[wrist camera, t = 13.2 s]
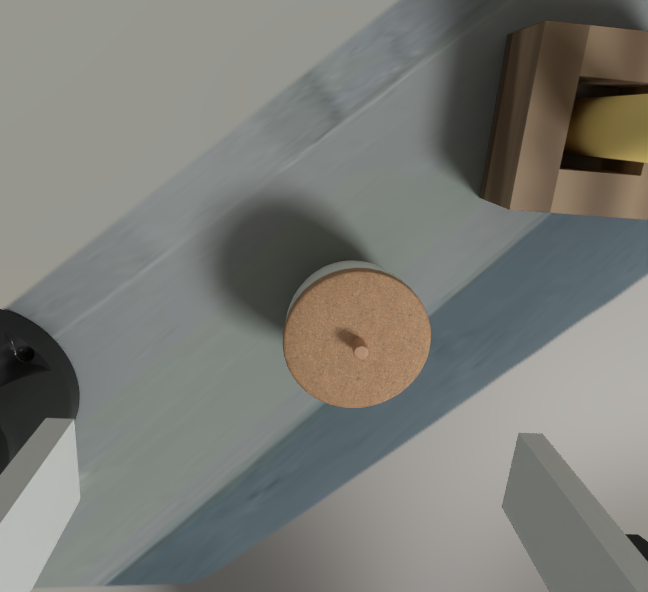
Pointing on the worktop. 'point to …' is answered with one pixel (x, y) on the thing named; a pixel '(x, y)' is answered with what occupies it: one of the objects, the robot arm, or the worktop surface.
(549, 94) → the socket block
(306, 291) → the lidded jar
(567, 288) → the worktop surface
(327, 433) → the worktop surface
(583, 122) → the dowel
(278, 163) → the worktop surface
